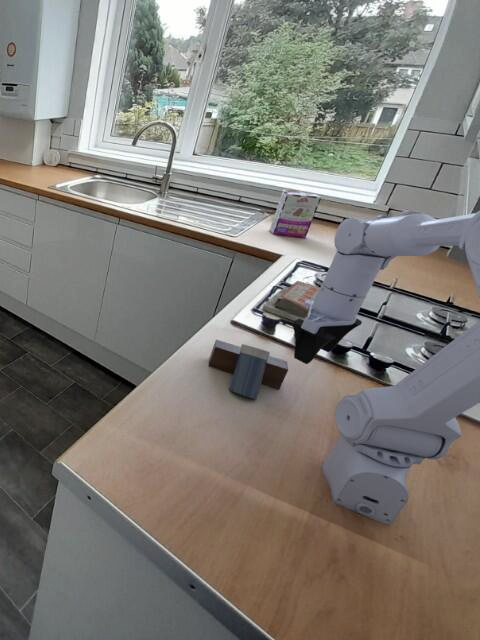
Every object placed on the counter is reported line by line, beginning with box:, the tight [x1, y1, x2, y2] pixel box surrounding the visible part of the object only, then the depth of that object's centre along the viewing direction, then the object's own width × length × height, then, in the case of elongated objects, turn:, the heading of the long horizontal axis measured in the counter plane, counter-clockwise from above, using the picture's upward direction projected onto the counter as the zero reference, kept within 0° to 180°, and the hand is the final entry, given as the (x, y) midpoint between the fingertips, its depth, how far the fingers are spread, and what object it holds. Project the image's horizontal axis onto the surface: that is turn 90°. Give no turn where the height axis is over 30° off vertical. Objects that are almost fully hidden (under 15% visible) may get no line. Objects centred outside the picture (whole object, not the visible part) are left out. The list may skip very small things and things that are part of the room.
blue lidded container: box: [228, 343, 271, 400], centre depth 76 cm, size 8×4×10 cm, turn 148°
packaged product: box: [262, 280, 320, 322], centre depth 107 cm, size 18×5×10 cm
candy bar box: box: [269, 190, 322, 239], centre depth 157 cm, size 11×5×16 cm, turn 73°
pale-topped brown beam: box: [207, 339, 289, 391], centre depth 81 cm, size 3×12×6 cm, turn 58°
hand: (312, 354), depth 74 cm, fingers open, 7 cm apart
